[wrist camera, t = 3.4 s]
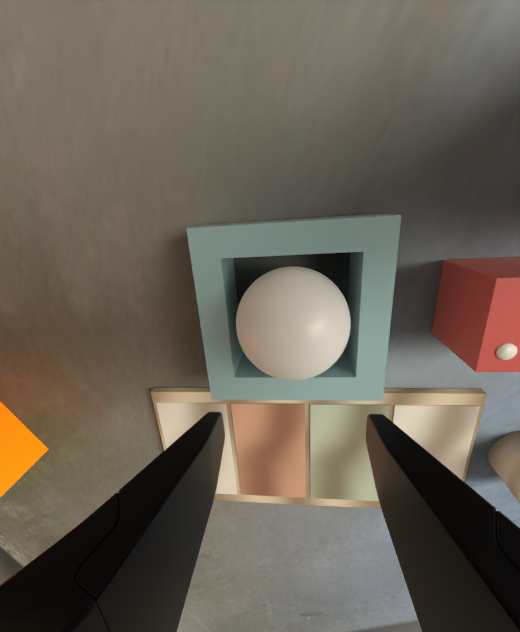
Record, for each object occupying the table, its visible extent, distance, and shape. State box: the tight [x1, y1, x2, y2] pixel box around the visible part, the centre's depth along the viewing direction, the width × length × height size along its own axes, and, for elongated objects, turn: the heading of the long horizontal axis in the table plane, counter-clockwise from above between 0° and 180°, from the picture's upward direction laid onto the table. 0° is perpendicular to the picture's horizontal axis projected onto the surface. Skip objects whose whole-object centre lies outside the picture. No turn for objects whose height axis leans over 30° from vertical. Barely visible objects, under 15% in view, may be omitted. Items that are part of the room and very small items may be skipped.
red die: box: [432, 257, 520, 372], centre depth 16 cm, size 5×5×5 cm
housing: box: [186, 214, 402, 401], centre depth 18 cm, size 11×11×4 cm
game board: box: [151, 388, 486, 508], centre depth 24 cm, size 25×12×1 cm, turn 94°
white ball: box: [236, 266, 351, 380], centre depth 16 cm, size 6×6×6 cm
